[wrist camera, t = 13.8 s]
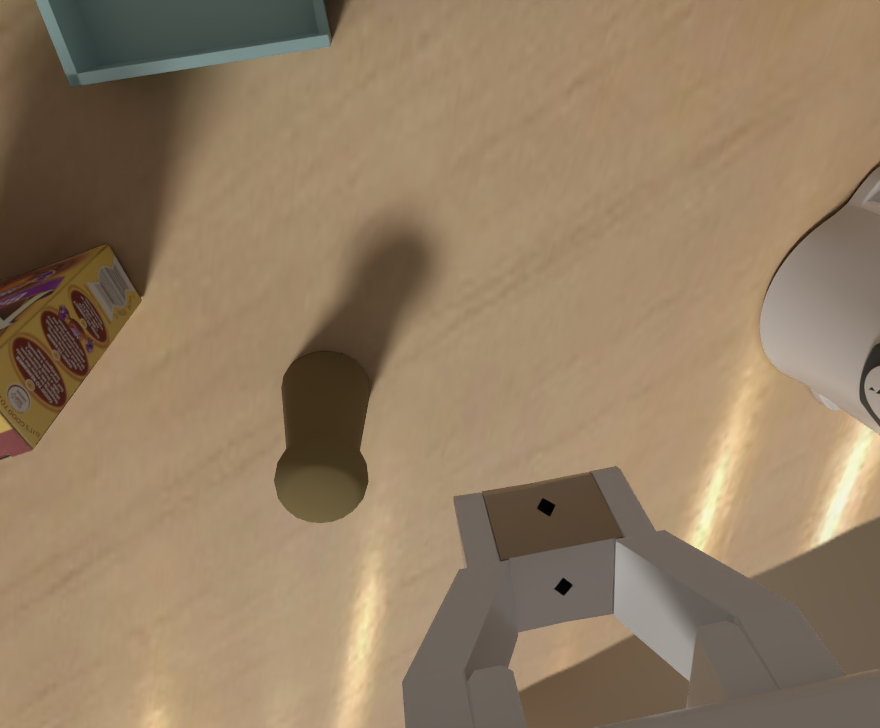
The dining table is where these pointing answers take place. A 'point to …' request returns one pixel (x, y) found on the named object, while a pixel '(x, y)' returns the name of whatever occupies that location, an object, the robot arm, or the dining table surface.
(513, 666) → the dining table surface
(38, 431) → the candy box
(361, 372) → the cork
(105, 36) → the tray
